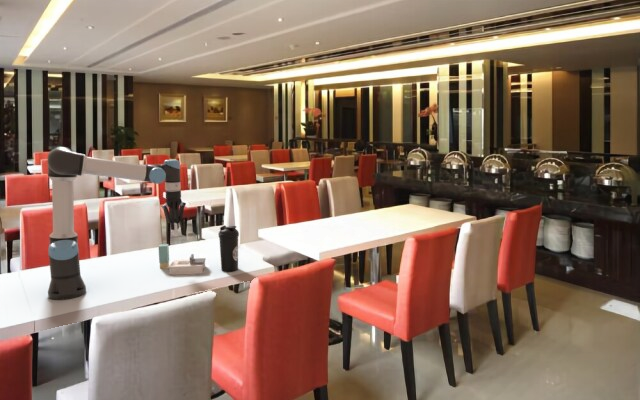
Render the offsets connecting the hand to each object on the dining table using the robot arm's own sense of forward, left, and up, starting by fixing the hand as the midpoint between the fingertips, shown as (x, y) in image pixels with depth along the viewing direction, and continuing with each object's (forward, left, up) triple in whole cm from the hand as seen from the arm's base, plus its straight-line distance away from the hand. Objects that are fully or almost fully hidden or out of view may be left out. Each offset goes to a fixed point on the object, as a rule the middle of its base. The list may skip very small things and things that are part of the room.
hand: (175, 235), depth 250 cm
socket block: (+5, -5, -18) cm, 19 cm away
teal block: (-4, +7, -18) cm, 20 cm away
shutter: (+9, -7, -14) cm, 18 cm away
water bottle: (+24, -15, -18) cm, 33 cm away
